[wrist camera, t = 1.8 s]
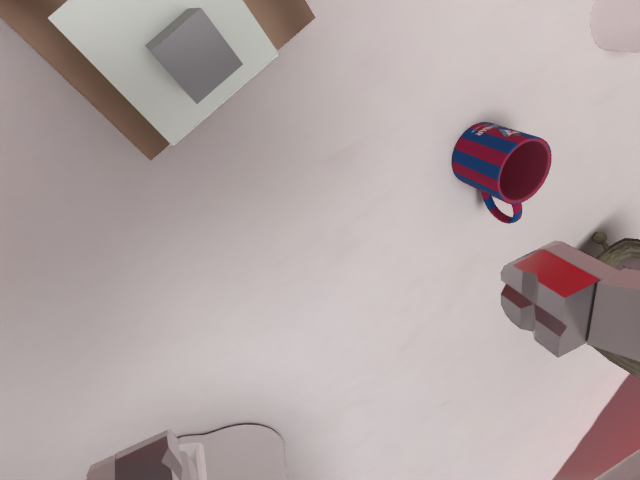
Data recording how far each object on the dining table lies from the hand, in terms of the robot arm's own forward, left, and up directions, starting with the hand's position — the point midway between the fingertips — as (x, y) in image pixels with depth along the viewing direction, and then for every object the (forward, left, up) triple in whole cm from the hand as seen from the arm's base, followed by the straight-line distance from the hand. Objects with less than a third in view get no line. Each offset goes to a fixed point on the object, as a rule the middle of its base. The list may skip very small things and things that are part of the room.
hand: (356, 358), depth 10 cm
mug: (+20, -25, -30) cm, 44 cm away
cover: (+3, +4, -27) cm, 27 cm away
